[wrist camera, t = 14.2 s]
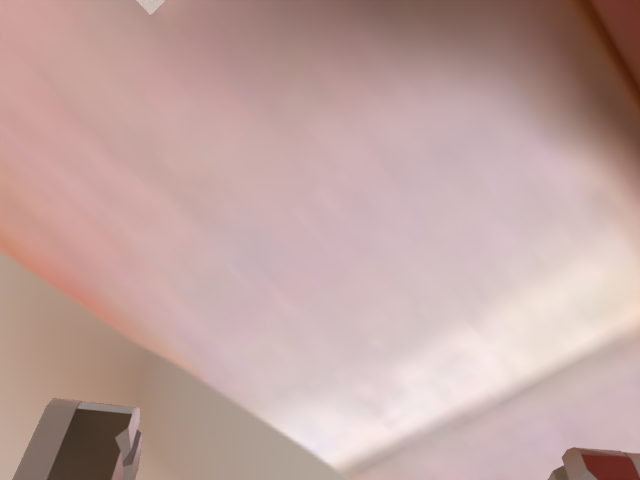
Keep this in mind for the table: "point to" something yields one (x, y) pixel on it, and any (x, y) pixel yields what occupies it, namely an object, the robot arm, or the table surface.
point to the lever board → (150, 5)
